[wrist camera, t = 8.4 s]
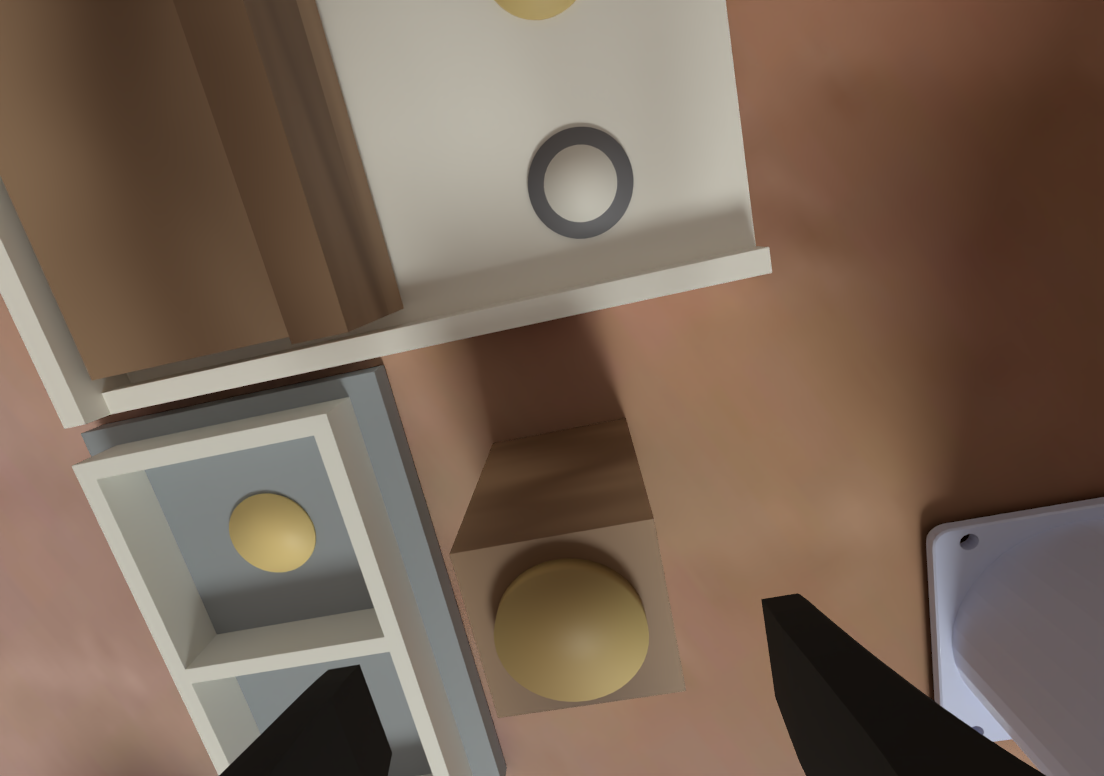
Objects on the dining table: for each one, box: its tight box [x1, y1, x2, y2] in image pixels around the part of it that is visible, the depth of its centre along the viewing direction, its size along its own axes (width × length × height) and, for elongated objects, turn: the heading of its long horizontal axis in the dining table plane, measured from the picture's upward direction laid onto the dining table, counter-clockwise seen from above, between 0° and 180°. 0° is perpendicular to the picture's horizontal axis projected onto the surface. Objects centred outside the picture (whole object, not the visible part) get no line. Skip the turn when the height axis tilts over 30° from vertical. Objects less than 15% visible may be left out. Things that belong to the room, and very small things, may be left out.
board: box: [0, 0, 772, 429], centre depth 13 cm, size 18×11×3 cm, turn 103°
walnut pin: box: [450, 418, 686, 718], centre depth 14 cm, size 4×4×6 cm
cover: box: [0, 0, 404, 381], centre depth 12 cm, size 8×9×4 cm
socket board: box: [72, 365, 507, 776], centre depth 17 cm, size 9×15×2 cm, turn 13°
